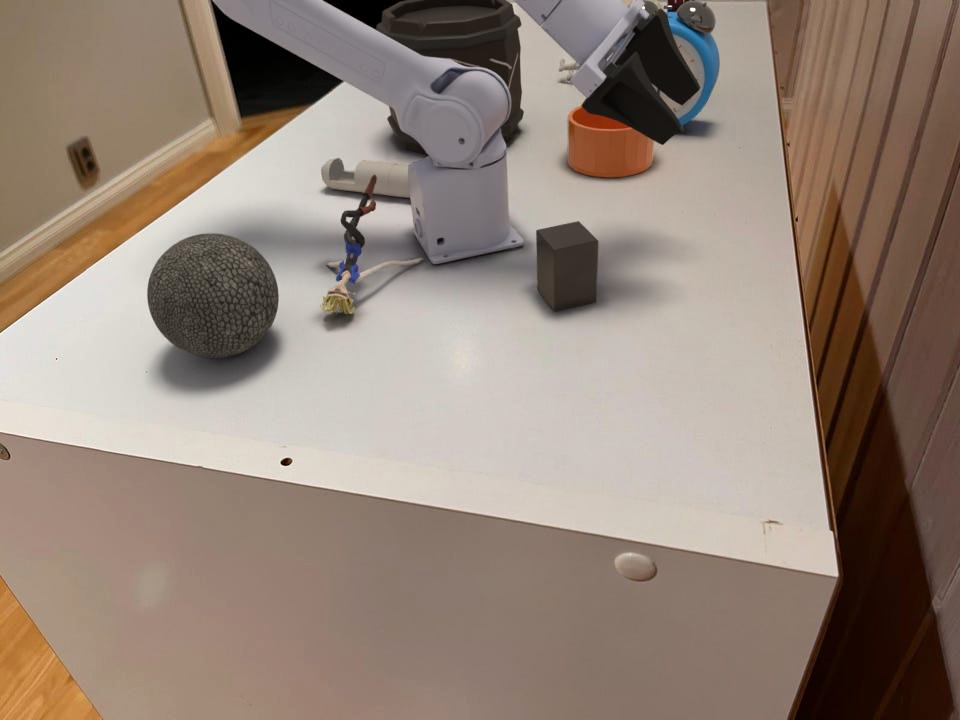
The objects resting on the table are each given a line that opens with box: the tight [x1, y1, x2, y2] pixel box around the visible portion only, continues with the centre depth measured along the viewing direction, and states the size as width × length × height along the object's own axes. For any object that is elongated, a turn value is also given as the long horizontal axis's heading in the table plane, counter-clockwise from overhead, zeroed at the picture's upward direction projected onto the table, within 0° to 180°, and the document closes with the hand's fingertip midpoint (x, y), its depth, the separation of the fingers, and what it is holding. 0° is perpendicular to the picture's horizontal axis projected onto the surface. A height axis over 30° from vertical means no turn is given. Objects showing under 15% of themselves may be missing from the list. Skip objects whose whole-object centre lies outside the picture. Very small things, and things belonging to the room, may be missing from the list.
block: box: [535, 220, 599, 312], centre depth 67 cm, size 4×4×6 cm
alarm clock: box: [614, 0, 721, 133], centre depth 97 cm, size 13×6×15 cm, turn 69°
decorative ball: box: [146, 232, 280, 359], centre depth 62 cm, size 10×10×10 cm
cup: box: [566, 105, 656, 178], centre depth 91 cm, size 10×10×6 cm
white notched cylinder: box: [320, 157, 410, 199], centre depth 87 cm, size 18×5×7 cm, turn 69°
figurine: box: [301, 174, 425, 331], centre depth 72 cm, size 10×9×20 cm
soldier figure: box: [558, 58, 579, 80], centre depth 115 cm, size 8×5×12 cm
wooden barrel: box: [375, 0, 525, 155], centre depth 98 cm, size 18×18×16 cm
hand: (682, 115), depth 65 cm, fingers open, 7 cm apart
